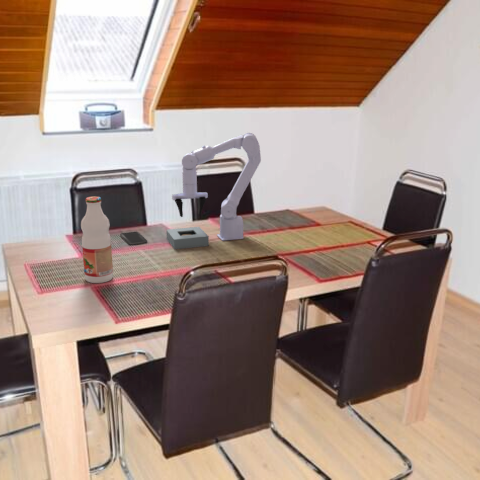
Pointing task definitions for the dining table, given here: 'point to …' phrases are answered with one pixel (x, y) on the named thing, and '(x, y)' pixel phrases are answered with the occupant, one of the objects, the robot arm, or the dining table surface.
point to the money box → (187, 237)
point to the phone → (133, 238)
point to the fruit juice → (96, 243)
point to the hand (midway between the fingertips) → (190, 215)
